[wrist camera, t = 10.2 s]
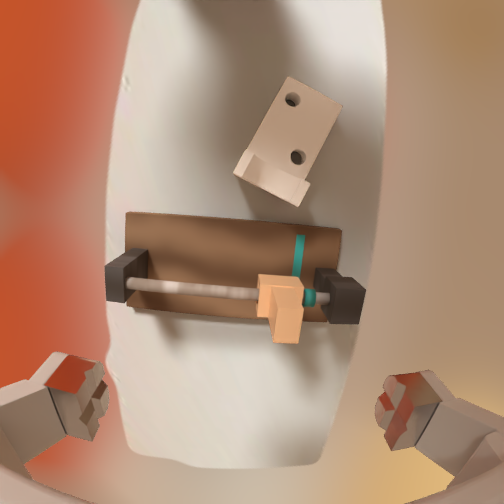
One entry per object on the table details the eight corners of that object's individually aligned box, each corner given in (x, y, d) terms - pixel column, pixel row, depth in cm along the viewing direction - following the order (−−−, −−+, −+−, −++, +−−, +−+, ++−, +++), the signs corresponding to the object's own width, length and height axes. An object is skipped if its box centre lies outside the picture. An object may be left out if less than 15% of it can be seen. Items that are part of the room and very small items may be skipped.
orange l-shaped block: (258, 274, 31) (264, 305, 23) (297, 276, 31) (316, 308, 23) (255, 303, 31) (260, 343, 23) (293, 306, 32) (310, 344, 24)
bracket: (287, 202, 37) (298, 207, 30) (234, 175, 36) (232, 172, 29) (334, 112, 35) (354, 97, 27) (283, 84, 34) (293, 63, 26)
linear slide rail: (129, 211, 36) (90, 223, 25) (338, 228, 38) (373, 246, 27) (130, 302, 39) (98, 340, 28) (324, 317, 40) (349, 360, 29)
